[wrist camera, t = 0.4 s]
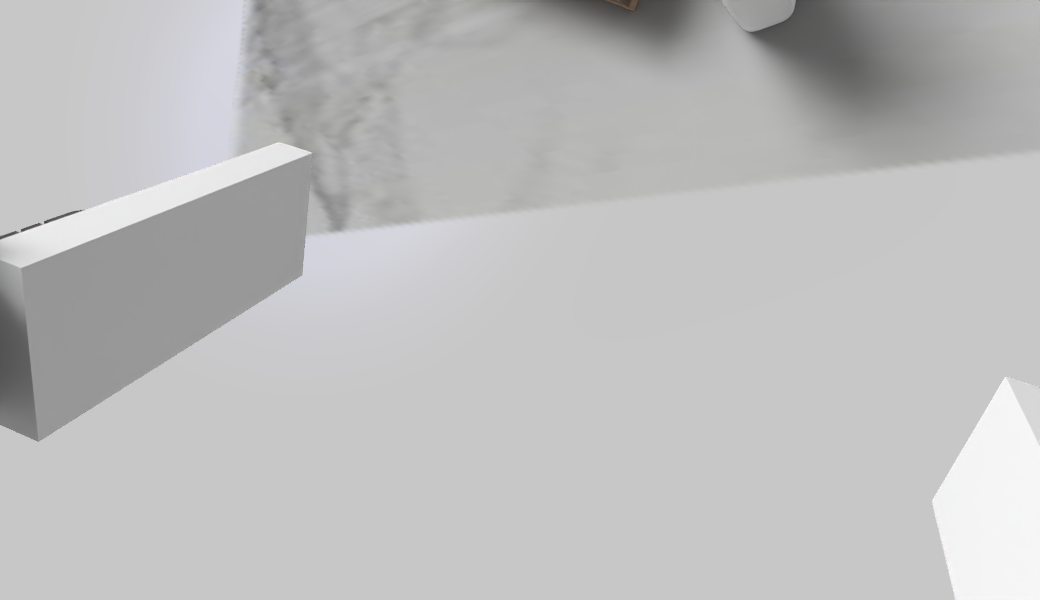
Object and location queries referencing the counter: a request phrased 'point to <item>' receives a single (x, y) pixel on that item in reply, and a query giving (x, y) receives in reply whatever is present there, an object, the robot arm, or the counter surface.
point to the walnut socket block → (625, 3)
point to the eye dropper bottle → (759, 12)
